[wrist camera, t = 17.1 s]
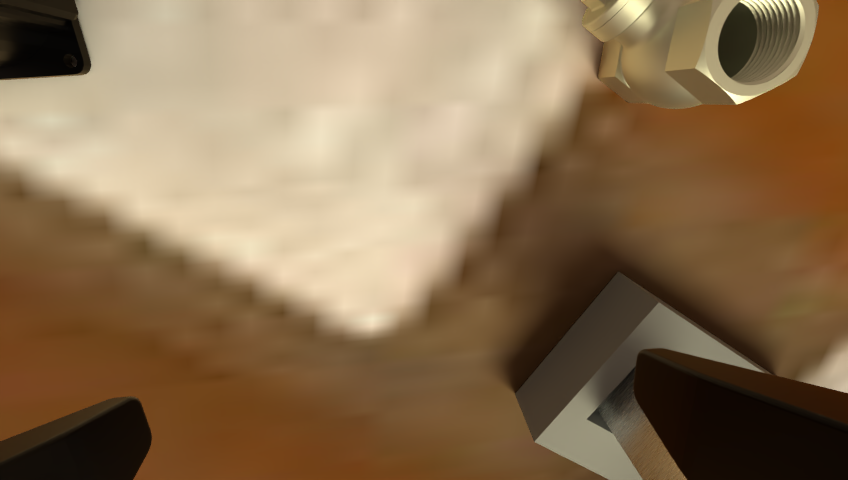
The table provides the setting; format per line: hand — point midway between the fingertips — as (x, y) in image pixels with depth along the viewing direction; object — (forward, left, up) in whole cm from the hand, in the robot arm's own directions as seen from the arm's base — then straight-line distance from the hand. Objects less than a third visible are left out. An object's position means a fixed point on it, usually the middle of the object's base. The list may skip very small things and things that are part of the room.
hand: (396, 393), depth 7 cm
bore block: (+14, -12, -13) cm, 22 cm away
